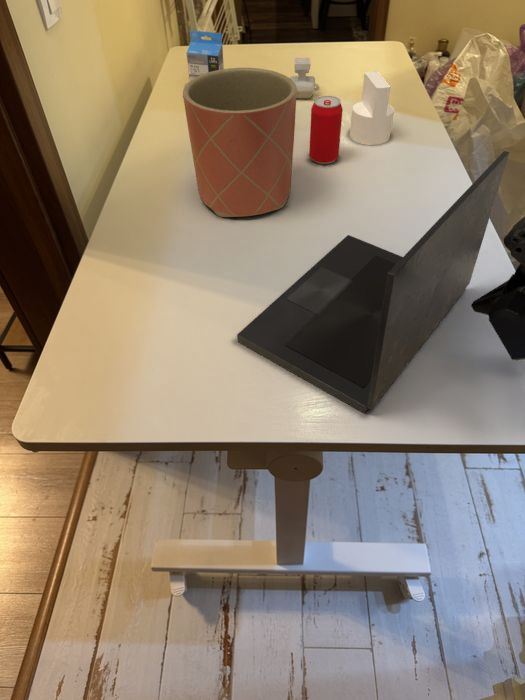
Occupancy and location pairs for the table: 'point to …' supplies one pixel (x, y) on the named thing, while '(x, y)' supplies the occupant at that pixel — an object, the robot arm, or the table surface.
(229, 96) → the planter
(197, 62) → the ink cartridge box
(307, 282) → the laptop
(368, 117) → the cylinder with rectangular tab
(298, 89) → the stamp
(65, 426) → the table surface
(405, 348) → the laptop screen
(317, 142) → the beverage can
